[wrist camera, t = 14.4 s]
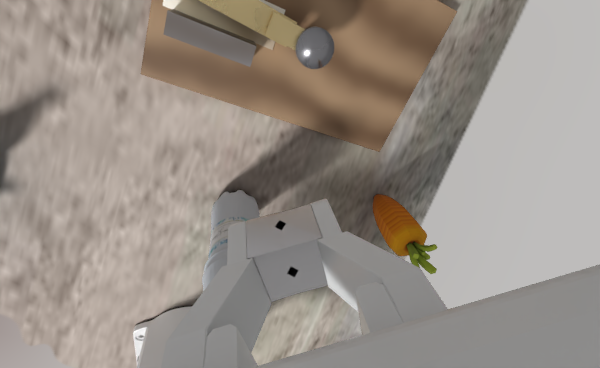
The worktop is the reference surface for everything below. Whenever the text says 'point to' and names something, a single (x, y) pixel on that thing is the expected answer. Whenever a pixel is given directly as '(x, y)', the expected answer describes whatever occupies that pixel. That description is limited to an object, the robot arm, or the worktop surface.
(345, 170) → the worktop surface
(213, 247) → the bottle
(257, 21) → the swing bar
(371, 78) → the latch board
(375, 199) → the carrot
